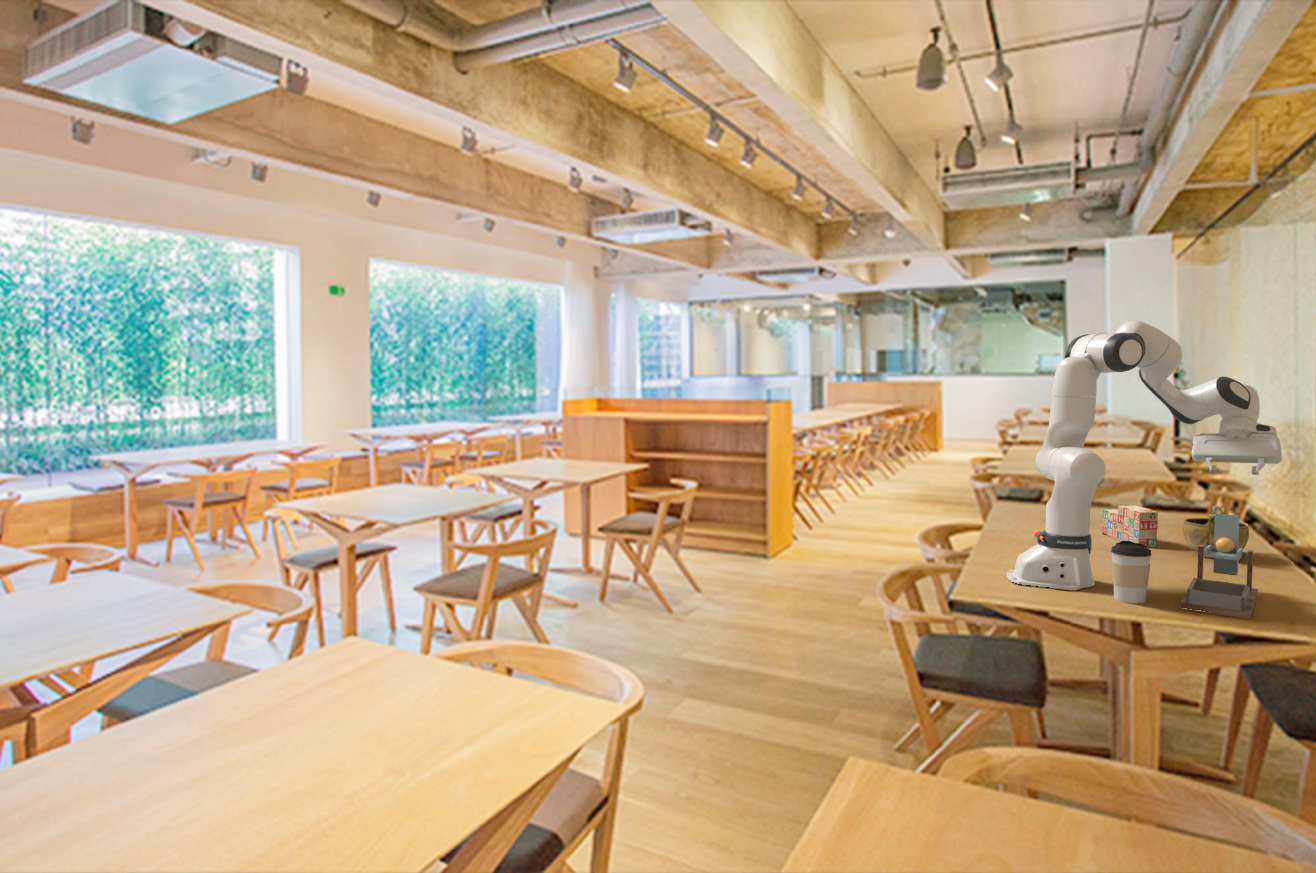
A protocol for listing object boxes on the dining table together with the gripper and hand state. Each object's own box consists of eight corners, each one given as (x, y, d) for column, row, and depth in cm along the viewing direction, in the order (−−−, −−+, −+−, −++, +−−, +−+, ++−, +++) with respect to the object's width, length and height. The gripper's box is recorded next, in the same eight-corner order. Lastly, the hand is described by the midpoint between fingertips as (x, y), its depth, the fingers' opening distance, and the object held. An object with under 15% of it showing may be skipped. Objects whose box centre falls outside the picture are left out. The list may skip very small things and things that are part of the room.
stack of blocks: (1101, 534, 278) (1102, 501, 277) (1119, 534, 278) (1120, 500, 277) (1138, 547, 257) (1139, 511, 256) (1157, 547, 257) (1158, 511, 256)
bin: (1193, 591, 201) (1193, 578, 201) (1248, 598, 193) (1249, 585, 193) (1186, 603, 191) (1186, 589, 190) (1244, 612, 183) (1245, 597, 183)
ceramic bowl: (1246, 566, 230) (1248, 517, 228) (1178, 559, 240) (1180, 512, 239) (1248, 552, 247) (1250, 506, 246) (1185, 546, 257) (1186, 502, 256)
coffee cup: (1156, 605, 194) (1158, 547, 193) (1117, 604, 196) (1118, 546, 195) (1141, 595, 203) (1143, 539, 202) (1104, 594, 205) (1105, 539, 204)
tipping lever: (1206, 569, 211) (1209, 511, 211) (1246, 574, 205) (1249, 515, 205) (1198, 576, 197) (1201, 515, 197) (1241, 582, 191) (1244, 518, 191)
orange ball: (1218, 551, 200) (1219, 536, 201) (1212, 551, 204) (1213, 536, 204) (1236, 553, 199) (1237, 538, 199) (1230, 554, 203) (1231, 539, 203)
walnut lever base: (1193, 585, 211) (1194, 543, 210) (1257, 594, 202) (1259, 549, 201) (1180, 608, 191) (1181, 561, 190) (1250, 619, 182) (1252, 570, 181)
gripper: (1192, 426, 223) (1186, 464, 216) (1282, 427, 209) (1279, 467, 202) (1194, 440, 226) (1189, 477, 220) (1283, 441, 212) (1280, 481, 206)
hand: (1233, 472), depth 211 cm, fingers open, 8 cm apart
